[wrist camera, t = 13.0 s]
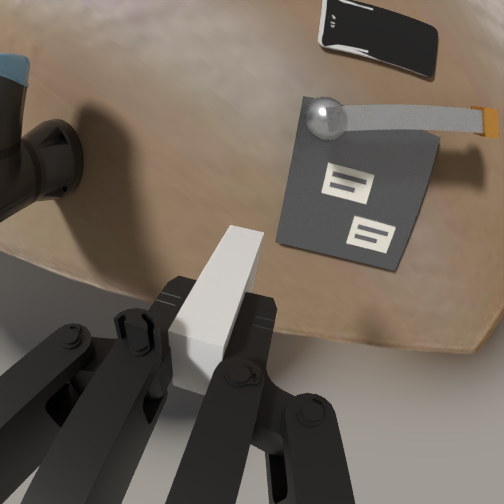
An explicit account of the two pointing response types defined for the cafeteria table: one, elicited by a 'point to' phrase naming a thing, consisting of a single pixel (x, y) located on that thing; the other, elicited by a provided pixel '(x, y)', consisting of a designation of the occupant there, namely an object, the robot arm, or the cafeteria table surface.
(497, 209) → the cafeteria table surface
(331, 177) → the label
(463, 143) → the cafeteria table surface
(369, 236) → the label
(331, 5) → the smartphone
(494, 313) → the cafeteria table surface
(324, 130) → the swing arm
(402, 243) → the board
